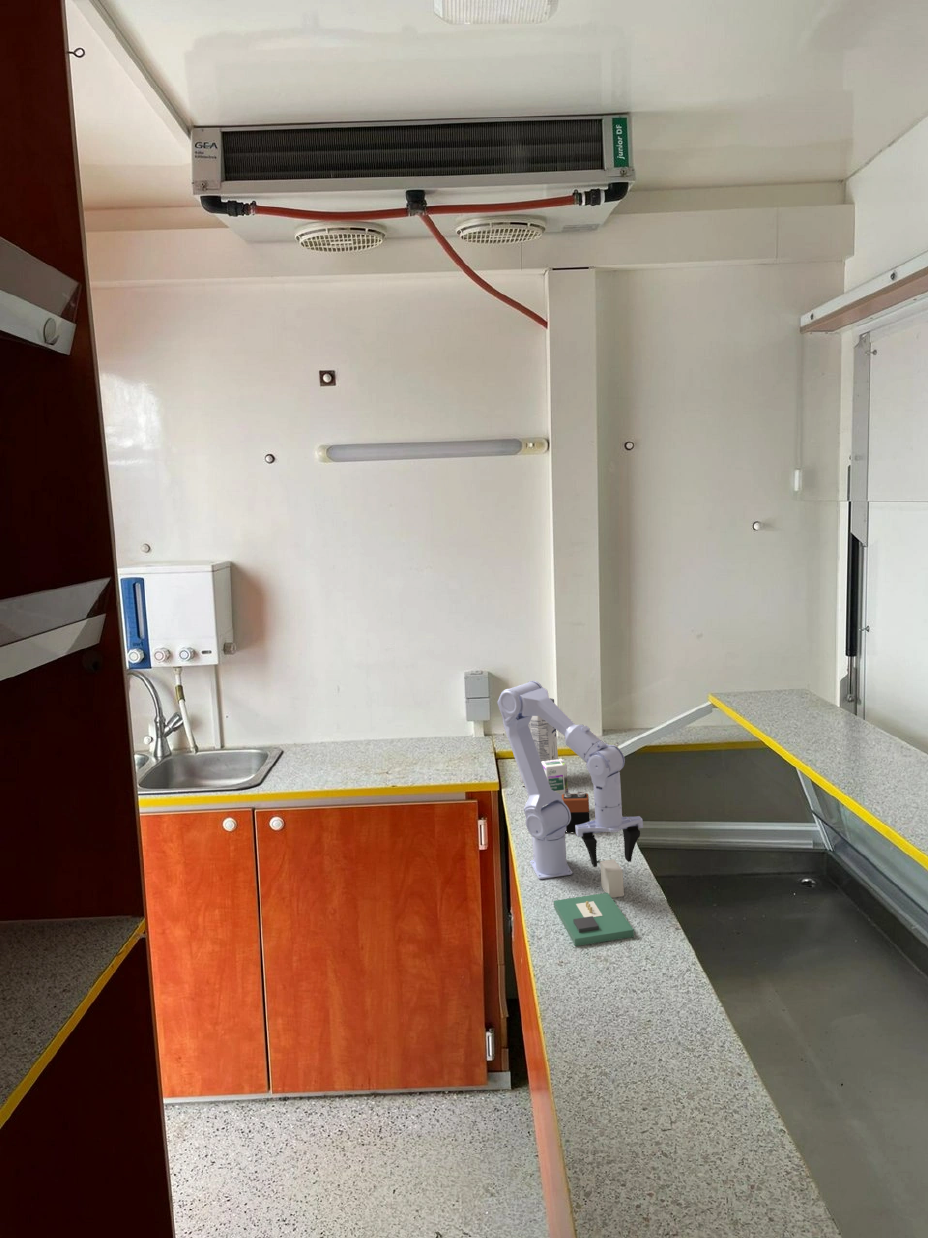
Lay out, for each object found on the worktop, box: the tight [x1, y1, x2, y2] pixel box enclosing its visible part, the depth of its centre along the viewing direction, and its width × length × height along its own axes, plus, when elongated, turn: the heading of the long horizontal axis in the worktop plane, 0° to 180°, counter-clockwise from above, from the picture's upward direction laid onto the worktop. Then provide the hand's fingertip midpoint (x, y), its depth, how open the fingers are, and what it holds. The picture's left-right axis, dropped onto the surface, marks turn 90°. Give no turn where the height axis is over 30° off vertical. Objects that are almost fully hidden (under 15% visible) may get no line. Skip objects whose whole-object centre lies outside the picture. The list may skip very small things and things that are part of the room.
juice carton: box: [518, 697, 559, 783], centre depth 257 cm, size 9×10×27 cm
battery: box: [562, 790, 591, 832], centre depth 224 cm, size 4×7×10 cm, turn 83°
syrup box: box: [541, 758, 569, 806], centre depth 235 cm, size 6×6×14 cm
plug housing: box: [599, 858, 625, 899], centre depth 192 cm, size 7×3×6 cm, turn 9°
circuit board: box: [553, 892, 635, 947], centre depth 180 cm, size 16×12×3 cm
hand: (611, 862), depth 191 cm, fingers open, 7 cm apart
